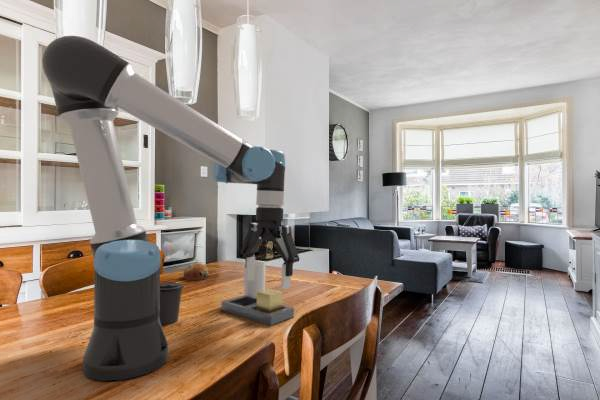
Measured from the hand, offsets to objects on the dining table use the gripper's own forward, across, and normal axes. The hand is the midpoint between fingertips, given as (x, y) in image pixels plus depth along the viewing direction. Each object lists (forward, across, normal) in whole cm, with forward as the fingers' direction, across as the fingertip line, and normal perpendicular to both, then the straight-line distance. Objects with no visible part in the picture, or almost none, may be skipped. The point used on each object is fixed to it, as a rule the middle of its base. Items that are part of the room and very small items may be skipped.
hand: (267, 284), depth 99 cm
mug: (+9, +14, -10) cm, 20 cm away
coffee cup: (+10, +17, +19) cm, 28 cm away
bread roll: (+10, +56, -17) cm, 59 cm away
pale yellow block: (+9, 0, -1) cm, 9 cm away
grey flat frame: (+9, +4, -1) cm, 10 cm away
